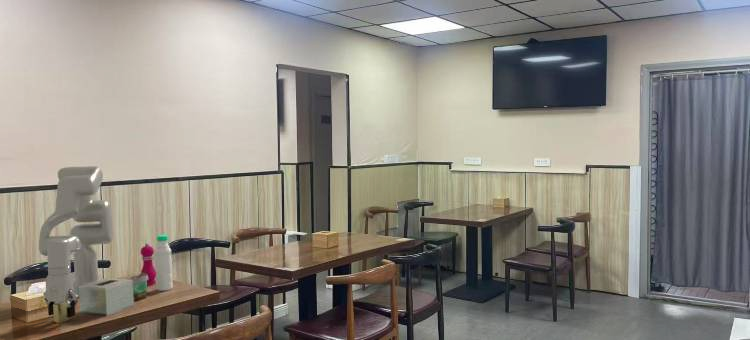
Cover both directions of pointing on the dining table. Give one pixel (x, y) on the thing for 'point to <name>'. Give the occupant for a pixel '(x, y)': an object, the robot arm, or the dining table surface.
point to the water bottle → (163, 264)
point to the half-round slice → (139, 286)
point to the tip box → (106, 296)
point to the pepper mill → (148, 264)
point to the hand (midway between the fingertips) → (61, 315)
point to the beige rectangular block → (60, 312)
